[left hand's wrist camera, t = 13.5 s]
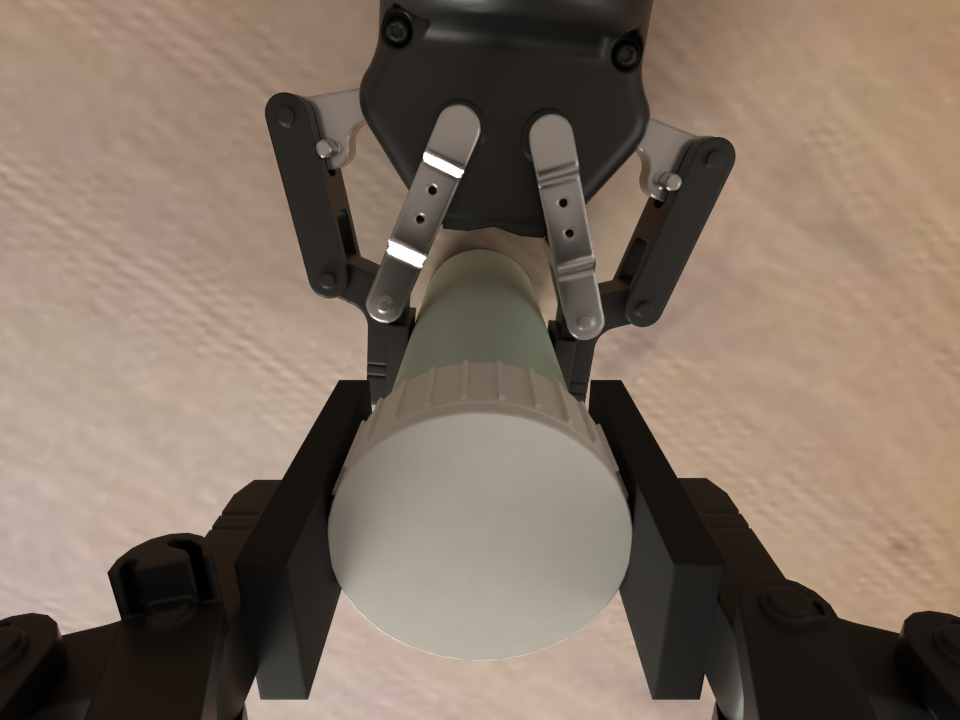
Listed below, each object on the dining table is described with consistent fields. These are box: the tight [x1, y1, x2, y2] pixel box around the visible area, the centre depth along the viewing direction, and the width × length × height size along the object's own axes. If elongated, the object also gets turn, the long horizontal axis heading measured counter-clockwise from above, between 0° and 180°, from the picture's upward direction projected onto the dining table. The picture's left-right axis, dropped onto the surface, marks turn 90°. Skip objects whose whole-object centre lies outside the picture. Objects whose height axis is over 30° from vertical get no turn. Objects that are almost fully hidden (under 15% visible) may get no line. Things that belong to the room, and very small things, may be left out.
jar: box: [391, 249, 569, 393], centre depth 18 cm, size 5×5×16 cm
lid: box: [328, 360, 633, 660], centre depth 11 cm, size 6×6×2 cm
